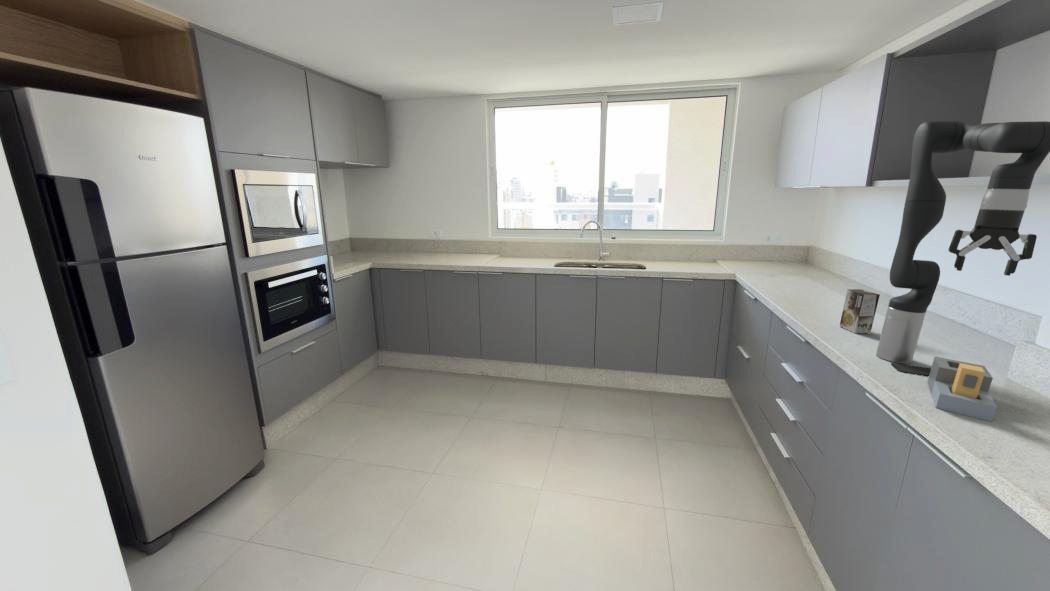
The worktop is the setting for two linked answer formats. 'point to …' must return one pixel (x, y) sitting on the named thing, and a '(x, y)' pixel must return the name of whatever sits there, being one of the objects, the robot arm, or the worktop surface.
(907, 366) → the phone
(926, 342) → the worktop surface
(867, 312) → the coffee box
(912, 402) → the worktop surface
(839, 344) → the worktop surface
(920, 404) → the worktop surface
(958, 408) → the socket block
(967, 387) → the plug
